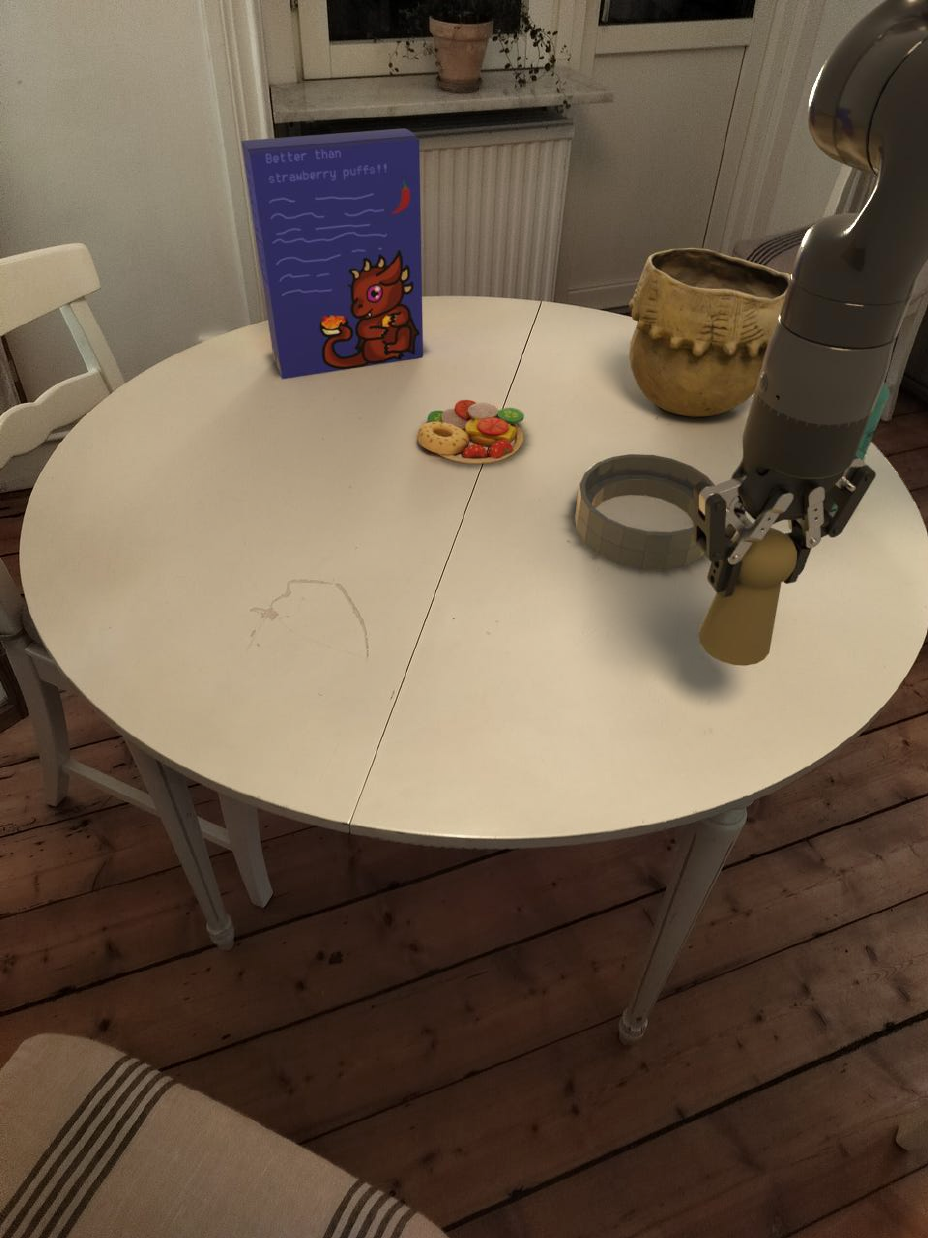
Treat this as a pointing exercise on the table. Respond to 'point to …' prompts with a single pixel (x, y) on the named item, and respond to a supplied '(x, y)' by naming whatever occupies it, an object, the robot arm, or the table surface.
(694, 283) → the clay pot
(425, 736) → the table surface
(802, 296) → the robot arm
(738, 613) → the tan game pawn
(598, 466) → the tiled ring wall
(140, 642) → the table surface
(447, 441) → the toy food set
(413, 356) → the cereal box
